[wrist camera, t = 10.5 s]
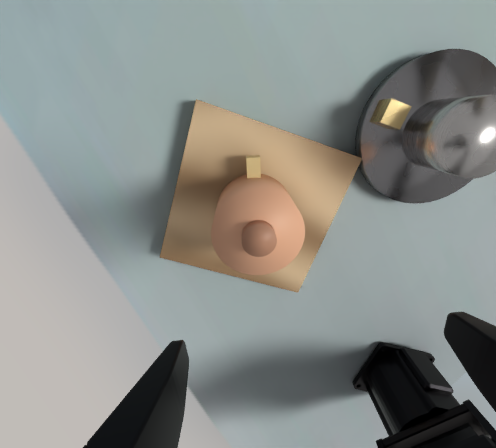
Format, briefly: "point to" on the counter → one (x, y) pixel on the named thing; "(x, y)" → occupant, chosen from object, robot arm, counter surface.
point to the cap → (256, 223)
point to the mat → (234, 165)
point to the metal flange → (430, 127)
